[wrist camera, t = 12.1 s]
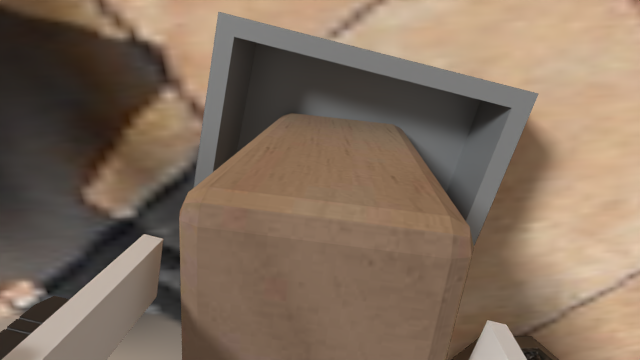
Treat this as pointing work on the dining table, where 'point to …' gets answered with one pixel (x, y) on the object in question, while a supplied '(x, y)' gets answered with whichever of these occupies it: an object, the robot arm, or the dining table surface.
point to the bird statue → (533, 350)
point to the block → (321, 249)
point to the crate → (361, 105)
